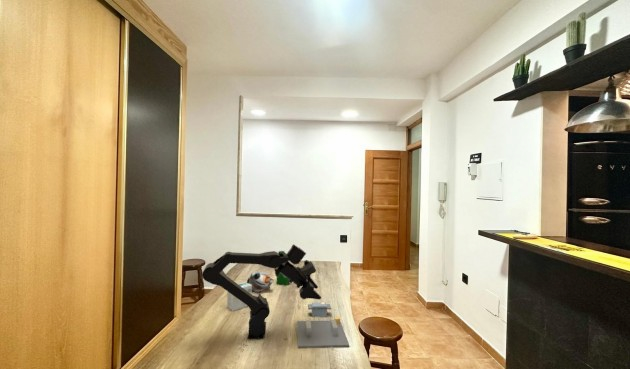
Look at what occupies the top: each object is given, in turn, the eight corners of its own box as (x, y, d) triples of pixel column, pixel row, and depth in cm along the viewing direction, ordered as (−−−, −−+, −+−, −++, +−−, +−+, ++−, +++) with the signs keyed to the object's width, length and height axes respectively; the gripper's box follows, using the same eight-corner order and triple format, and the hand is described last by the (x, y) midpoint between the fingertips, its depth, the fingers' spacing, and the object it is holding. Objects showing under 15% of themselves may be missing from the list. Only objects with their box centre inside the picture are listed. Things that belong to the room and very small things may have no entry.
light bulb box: (245, 301, 149) (245, 281, 149) (251, 305, 144) (252, 284, 144) (226, 307, 141) (227, 285, 142) (232, 311, 137) (233, 289, 137)
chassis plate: (298, 348, 108) (298, 336, 108) (296, 322, 127) (297, 313, 128) (349, 347, 109) (349, 335, 109) (340, 322, 129) (340, 312, 129)
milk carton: (279, 280, 184) (280, 249, 184) (292, 281, 182) (293, 250, 182) (274, 284, 175) (275, 252, 175) (288, 286, 173) (289, 254, 174)
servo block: (308, 316, 134) (308, 305, 134) (307, 312, 138) (307, 301, 138) (330, 316, 135) (331, 305, 135) (329, 312, 139) (329, 301, 139)
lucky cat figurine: (272, 285, 174) (277, 268, 169) (267, 299, 163) (273, 282, 158) (249, 277, 174) (254, 260, 168) (242, 292, 163) (247, 274, 157)
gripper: (306, 267, 110) (335, 289, 113) (301, 250, 129) (326, 269, 132) (287, 288, 110) (317, 310, 113) (286, 268, 129) (311, 287, 132)
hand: (318, 292), depth 122 cm, fingers open, 9 cm apart
